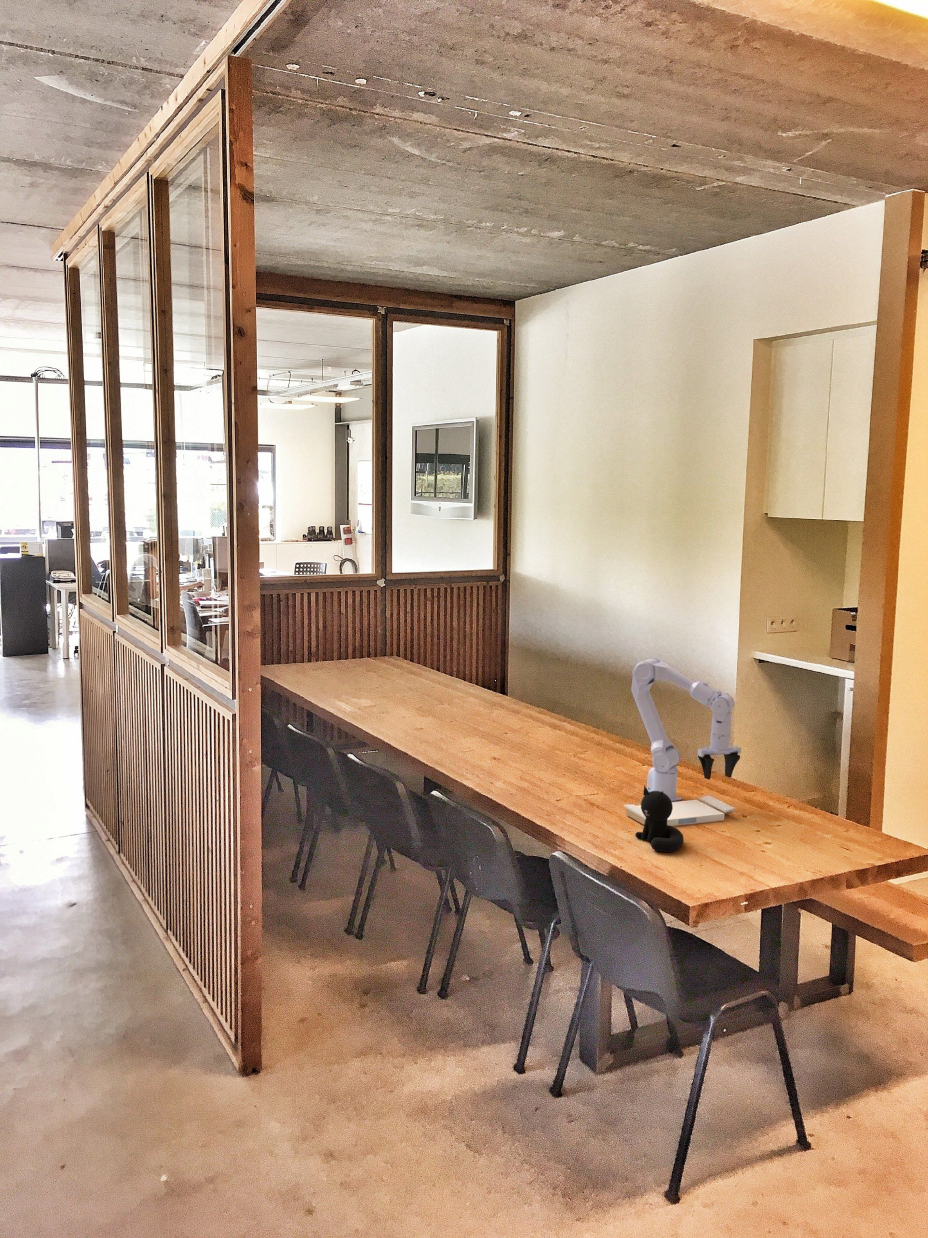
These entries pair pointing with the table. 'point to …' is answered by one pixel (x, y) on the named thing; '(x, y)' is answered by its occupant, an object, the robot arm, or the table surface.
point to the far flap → (717, 804)
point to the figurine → (659, 822)
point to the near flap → (635, 813)
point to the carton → (692, 813)
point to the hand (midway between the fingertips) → (717, 777)
